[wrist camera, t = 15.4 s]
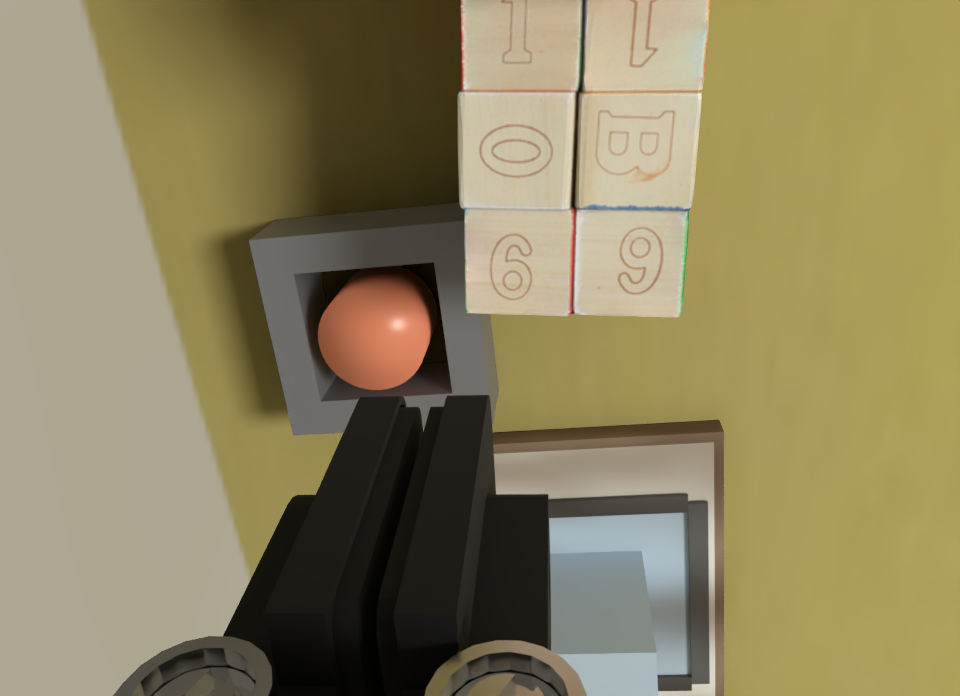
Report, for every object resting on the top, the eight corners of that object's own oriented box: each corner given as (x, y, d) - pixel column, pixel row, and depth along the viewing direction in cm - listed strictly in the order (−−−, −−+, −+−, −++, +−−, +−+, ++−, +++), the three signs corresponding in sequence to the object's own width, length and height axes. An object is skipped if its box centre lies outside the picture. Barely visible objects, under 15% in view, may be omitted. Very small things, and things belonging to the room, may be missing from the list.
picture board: (434, 436, 35) (429, 452, 34) (719, 420, 34) (725, 436, 32) (477, 712, 41) (474, 735, 40) (720, 709, 40) (725, 733, 38)
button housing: (275, 219, 32) (248, 240, 29) (476, 201, 31) (468, 220, 28) (314, 401, 35) (293, 435, 32) (498, 389, 34) (493, 423, 31)
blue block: (526, 554, 36) (519, 655, 30) (641, 550, 35) (656, 652, 30) (535, 643, 38) (531, 753, 32) (645, 641, 37) (660, 752, 31)
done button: (330, 268, 32) (308, 293, 29) (429, 260, 31) (417, 284, 29) (348, 361, 34) (328, 393, 31) (443, 354, 33) (432, 386, 30)
